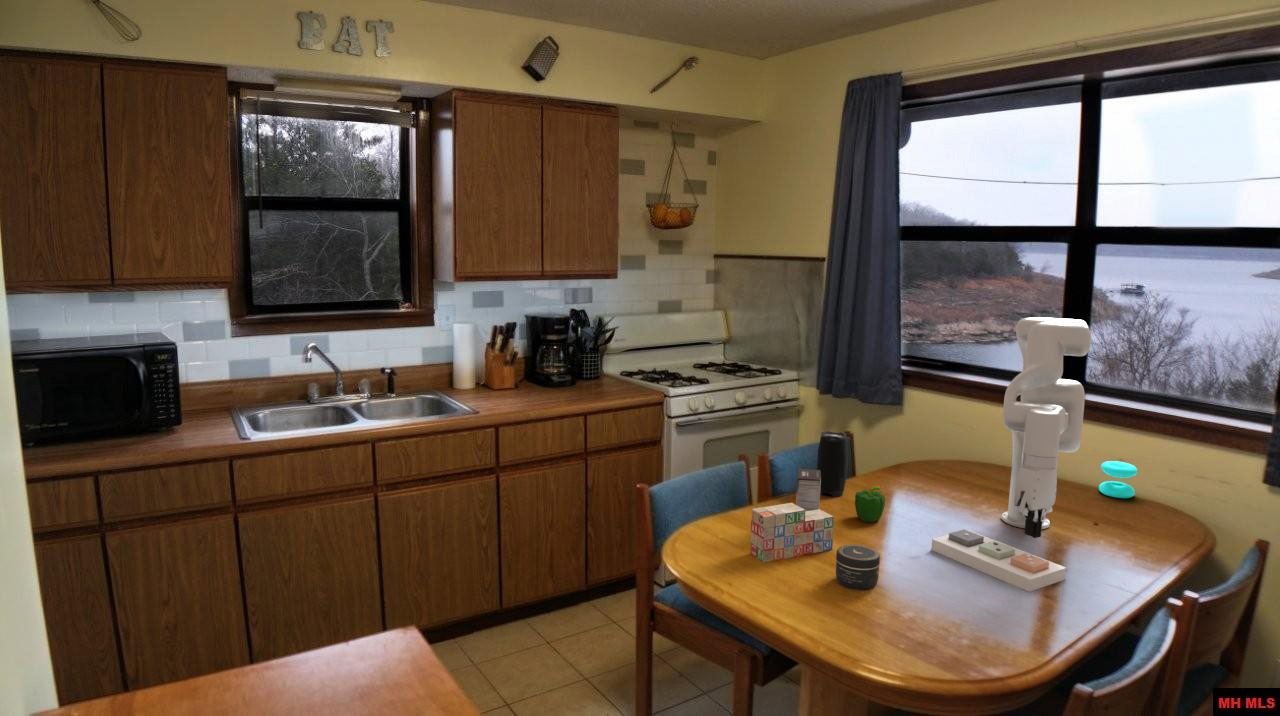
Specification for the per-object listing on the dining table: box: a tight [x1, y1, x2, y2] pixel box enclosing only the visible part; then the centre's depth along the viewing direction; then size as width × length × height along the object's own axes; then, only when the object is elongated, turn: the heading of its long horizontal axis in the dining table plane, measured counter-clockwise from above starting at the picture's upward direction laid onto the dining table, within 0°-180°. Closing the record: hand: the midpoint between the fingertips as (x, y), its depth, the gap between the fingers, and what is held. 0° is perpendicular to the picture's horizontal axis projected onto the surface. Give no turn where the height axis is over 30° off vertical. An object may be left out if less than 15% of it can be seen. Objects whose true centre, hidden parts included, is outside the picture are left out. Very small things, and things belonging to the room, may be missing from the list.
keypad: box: [930, 529, 1067, 592], centre depth 199 cm, size 14×28×3 cm, turn 30°
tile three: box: [1010, 552, 1049, 574], centre depth 191 cm, size 6×6×3 cm
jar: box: [835, 544, 881, 591], centre depth 187 cm, size 10×10×8 cm
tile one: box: [948, 528, 984, 547], centre depth 207 cm, size 6×6×3 cm
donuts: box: [1098, 460, 1138, 499], centre depth 255 cm, size 10×10×10 cm
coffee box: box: [795, 468, 821, 511], centre depth 221 cm, size 9×6×16 cm
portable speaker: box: [816, 430, 849, 498], centre depth 251 cm, size 9×9×20 cm
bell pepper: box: [854, 485, 886, 523], centre depth 229 cm, size 8×8×10 cm
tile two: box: [978, 540, 1015, 560], centre depth 199 cm, size 6×6×3 cm
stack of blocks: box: [750, 502, 835, 563], centre depth 205 cm, size 21×6×12 cm, turn 113°
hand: (1032, 535), depth 190 cm, fingers closed
